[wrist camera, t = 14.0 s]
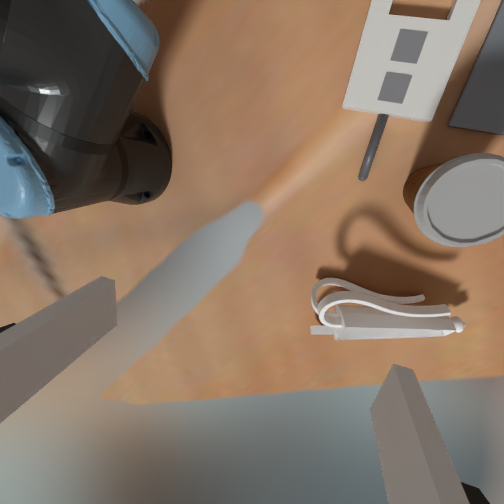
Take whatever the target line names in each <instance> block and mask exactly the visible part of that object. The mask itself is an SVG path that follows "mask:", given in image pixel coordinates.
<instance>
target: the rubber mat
mask: <svg viewBox="0 0 504 504" xmlns="http://www.w3.org/2000/svg"><path fill="white" fill-rule="evenodd" d="M448 126H452V127H458V128H464V129H470V130H476V131H482V132H488V133H494V134H500V135H504V0H502V1H501V4H500V6H499V8H498V11H497V13H496V15H495V18H494V20H493V22H492V25H491V27H490V29H489V31H488V34H487V36H486V38H485V41H484V43H483V45H482V48H481V50H480V52H479V54H478V57H477V59H476V61H475V64H474V66H473V68H472V71H471V73H470V75H469V78H468V80H467V82H466V84H465V87H464V89H463V91H462V94H461V96H460V98H459V101H458V103H457V105H456V108H455V110H454V112H453V114H452V117H451V119H450V121H449V124H448Z"/></svg>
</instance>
